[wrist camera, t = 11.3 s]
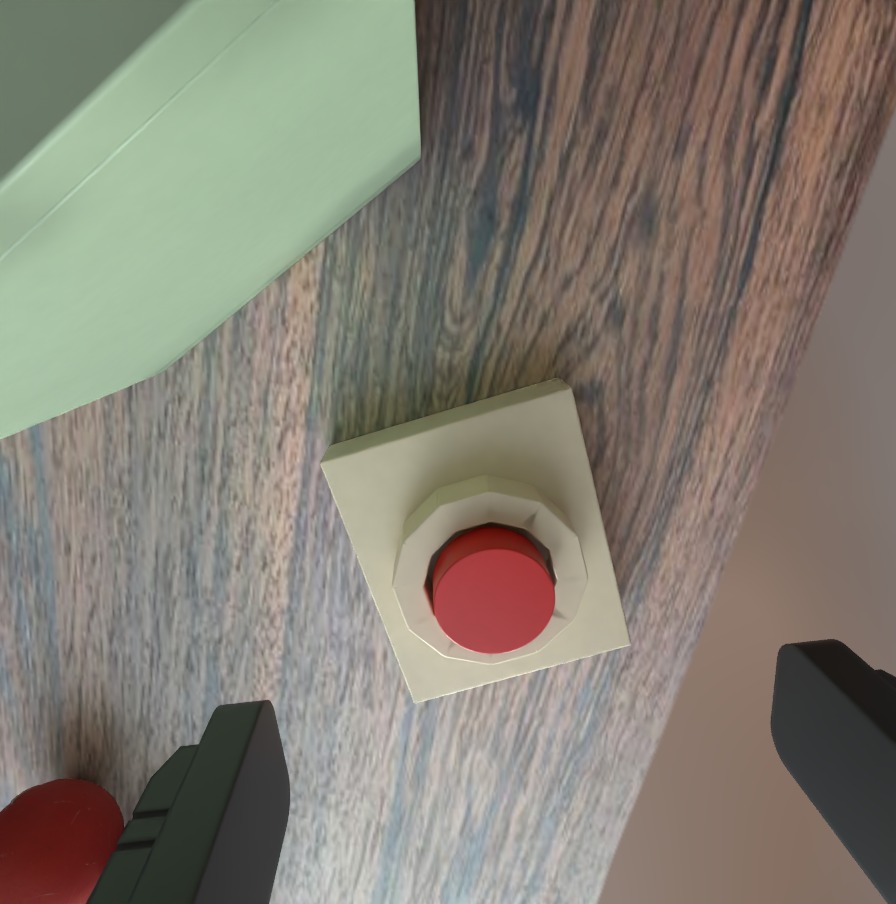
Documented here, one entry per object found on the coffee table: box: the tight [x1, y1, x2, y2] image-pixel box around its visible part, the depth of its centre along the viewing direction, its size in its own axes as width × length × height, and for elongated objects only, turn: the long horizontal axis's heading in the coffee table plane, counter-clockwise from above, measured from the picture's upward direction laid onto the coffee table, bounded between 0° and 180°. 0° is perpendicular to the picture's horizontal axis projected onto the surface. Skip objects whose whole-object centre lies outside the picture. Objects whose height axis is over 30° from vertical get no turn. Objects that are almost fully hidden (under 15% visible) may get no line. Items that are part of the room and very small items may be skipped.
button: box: [433, 527, 555, 654], centre depth 21 cm, size 4×4×2 cm
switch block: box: [320, 377, 631, 703], centre depth 24 cm, size 10×12×4 cm
